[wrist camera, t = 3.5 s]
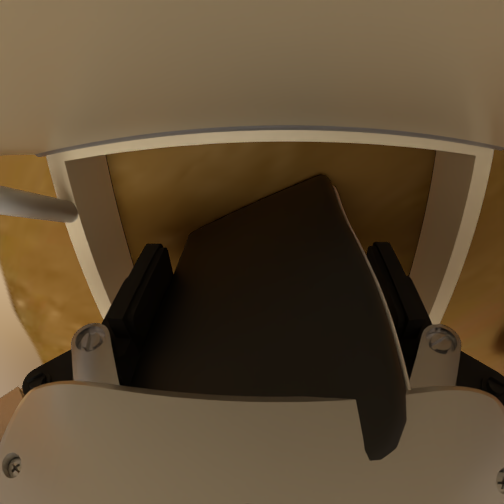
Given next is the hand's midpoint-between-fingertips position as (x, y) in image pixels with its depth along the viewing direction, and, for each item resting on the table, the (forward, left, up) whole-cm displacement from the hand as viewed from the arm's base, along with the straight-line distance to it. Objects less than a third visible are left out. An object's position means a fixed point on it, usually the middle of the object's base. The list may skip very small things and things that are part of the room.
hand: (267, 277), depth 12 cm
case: (0, -2, -3) cm, 4 cm away
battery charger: (0, 0, -3) cm, 3 cm away
